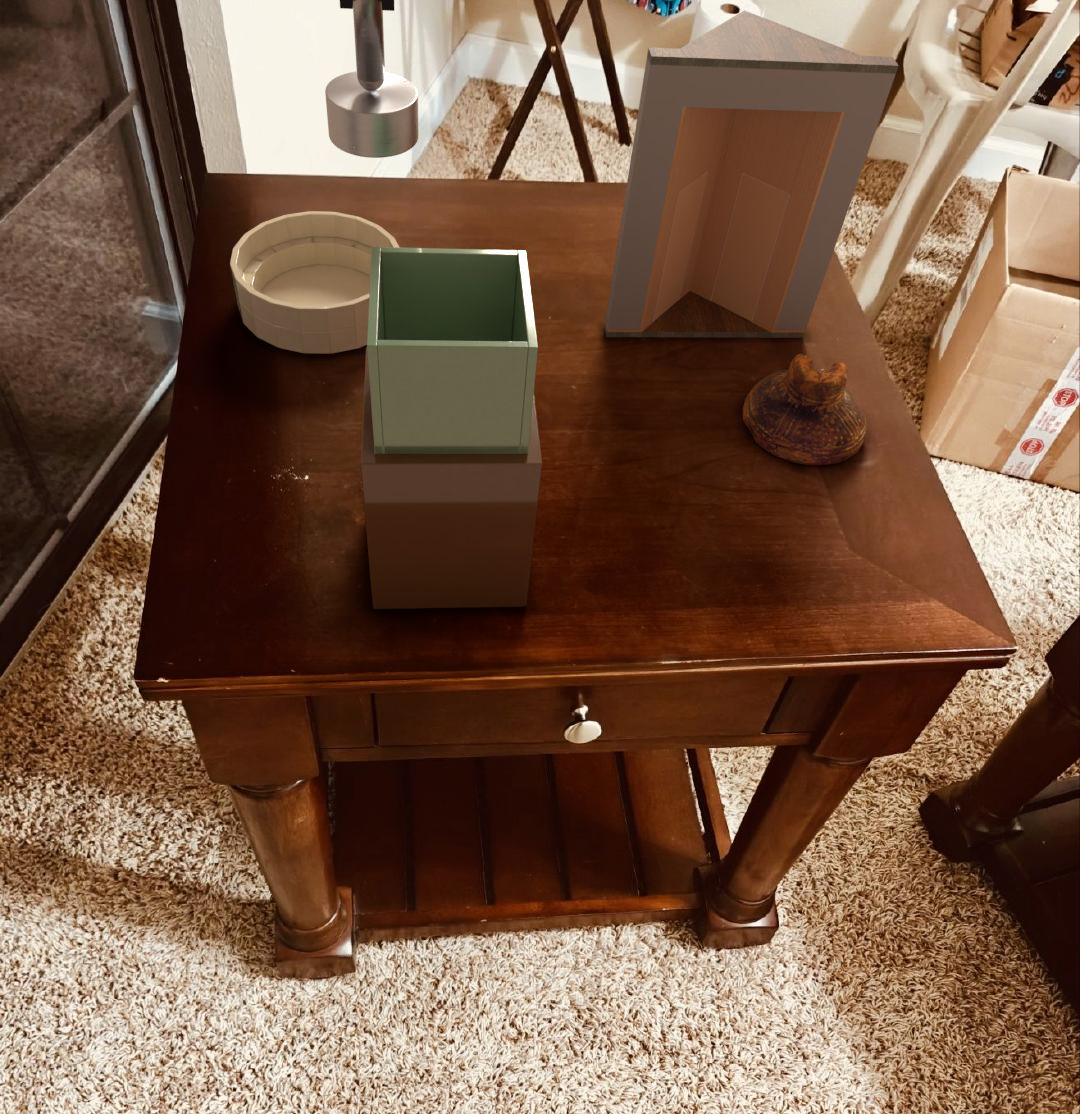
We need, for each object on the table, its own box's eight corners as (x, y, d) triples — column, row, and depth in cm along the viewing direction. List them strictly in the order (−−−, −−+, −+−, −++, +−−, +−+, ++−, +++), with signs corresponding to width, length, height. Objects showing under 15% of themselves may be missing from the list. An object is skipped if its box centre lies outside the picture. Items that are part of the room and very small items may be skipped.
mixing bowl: (231, 359, 94) (220, 307, 90) (249, 260, 105) (240, 208, 100) (403, 361, 96) (401, 310, 92) (404, 263, 106) (402, 213, 102)
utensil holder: (372, 609, 77) (350, 355, 58) (376, 496, 85) (358, 238, 65) (526, 606, 78) (554, 357, 59) (516, 495, 86) (538, 242, 67)
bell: (718, 429, 93) (736, 368, 88) (778, 368, 100) (798, 308, 94) (828, 488, 89) (854, 429, 84) (883, 421, 96) (911, 362, 90)
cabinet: (606, 336, 101) (651, 56, 79) (594, 280, 107) (633, 5, 86) (803, 337, 104) (898, 65, 82) (780, 282, 110) (863, 15, 88)
